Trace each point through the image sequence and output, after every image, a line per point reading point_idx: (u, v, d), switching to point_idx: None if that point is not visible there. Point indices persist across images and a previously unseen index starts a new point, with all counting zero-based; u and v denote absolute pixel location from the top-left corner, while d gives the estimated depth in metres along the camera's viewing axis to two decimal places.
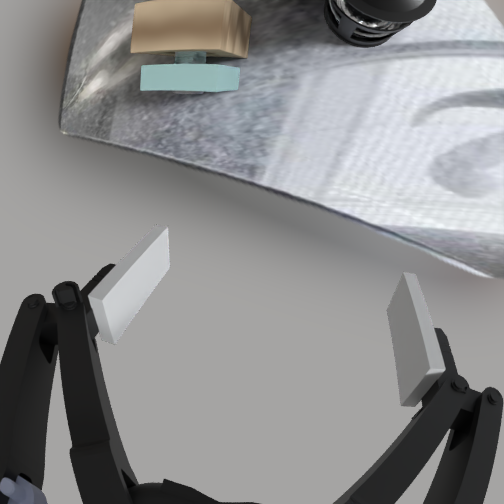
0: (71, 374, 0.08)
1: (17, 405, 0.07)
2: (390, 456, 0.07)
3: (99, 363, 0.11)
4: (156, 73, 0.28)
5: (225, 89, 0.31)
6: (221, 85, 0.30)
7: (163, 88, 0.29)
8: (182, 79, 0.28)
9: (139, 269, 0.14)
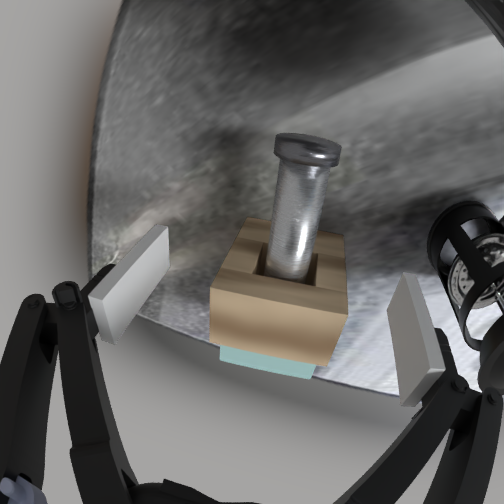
0: (71, 374, 0.08)
1: (17, 405, 0.07)
2: (390, 456, 0.07)
3: (99, 363, 0.11)
4: (241, 352, 0.28)
5: None
6: None
7: (250, 365, 0.29)
8: (273, 364, 0.28)
9: (139, 269, 0.14)
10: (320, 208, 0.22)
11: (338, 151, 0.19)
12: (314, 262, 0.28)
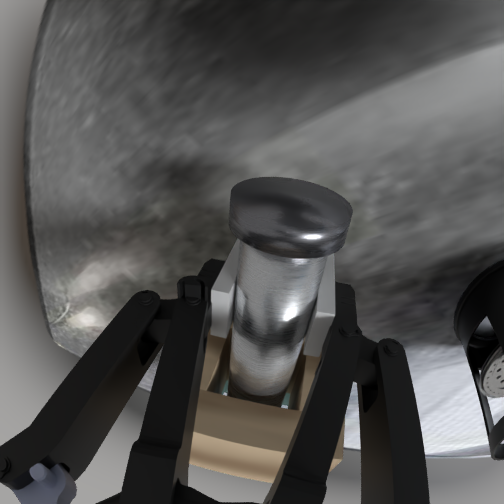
0: (168, 370, 0.09)
1: (86, 402, 0.08)
2: (304, 420, 0.08)
3: (202, 365, 0.12)
4: None
5: None
6: None
7: None
8: None
9: None
10: (310, 310, 0.13)
11: (347, 223, 0.10)
12: (302, 354, 0.19)
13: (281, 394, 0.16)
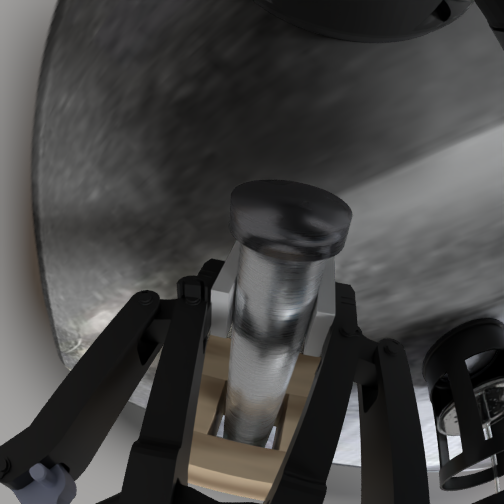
0: (168, 370, 0.09)
1: (86, 402, 0.08)
2: (305, 420, 0.08)
3: (202, 364, 0.12)
4: None
5: None
6: None
7: None
8: None
9: None
10: (309, 312, 0.13)
11: (346, 226, 0.11)
12: (285, 400, 0.23)
13: (280, 395, 0.16)
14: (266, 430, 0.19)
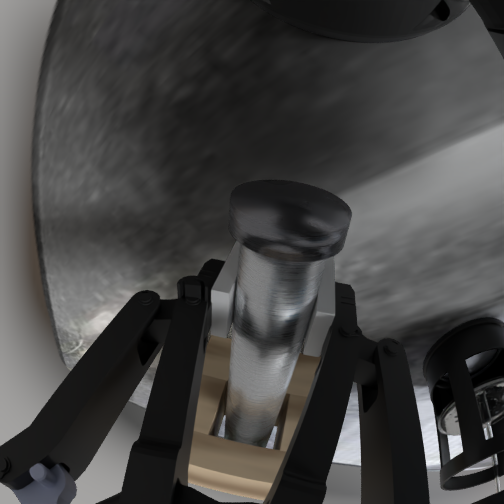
0: (168, 370, 0.09)
1: (86, 402, 0.08)
2: (304, 420, 0.08)
3: (202, 364, 0.12)
4: None
5: None
6: None
7: None
8: None
9: None
10: (309, 312, 0.13)
11: (346, 226, 0.11)
12: (286, 400, 0.23)
13: (281, 395, 0.16)
14: (267, 430, 0.19)
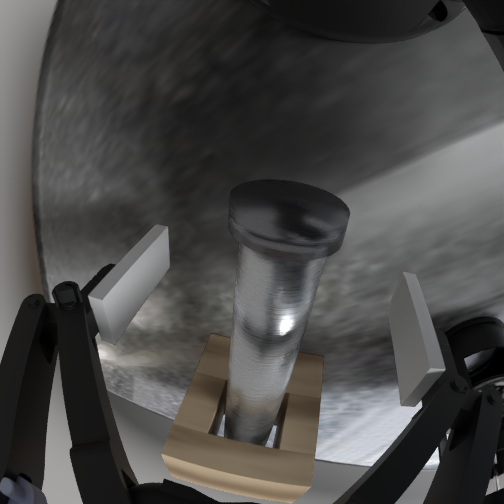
0: (71, 374, 0.08)
1: (17, 405, 0.07)
2: (390, 456, 0.07)
3: (99, 363, 0.11)
4: None
5: None
6: None
7: None
8: None
9: (139, 269, 0.14)
10: (308, 311, 0.13)
11: (344, 225, 0.11)
12: (285, 399, 0.23)
13: (280, 394, 0.16)
14: (266, 429, 0.19)
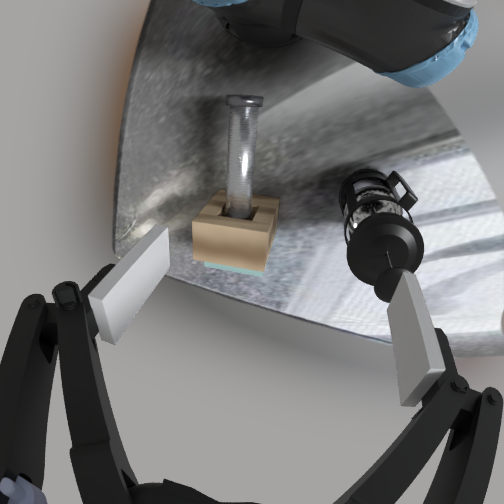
0: (71, 374, 0.08)
1: (17, 405, 0.07)
2: (390, 456, 0.07)
3: (99, 363, 0.11)
4: None
5: None
6: None
7: (223, 268, 0.47)
8: None
9: (139, 269, 0.14)
10: (254, 132, 0.37)
11: (259, 98, 0.34)
12: None
13: (249, 180, 0.40)
14: (245, 212, 0.42)
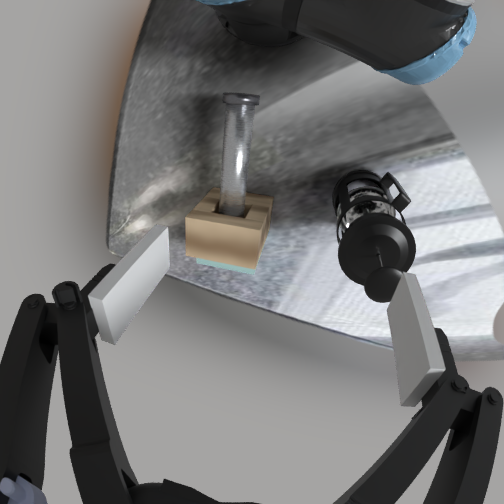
0: (71, 374, 0.08)
1: (17, 405, 0.07)
2: (390, 456, 0.07)
3: (99, 363, 0.11)
4: None
5: None
6: None
7: (215, 265, 0.47)
8: None
9: (139, 269, 0.14)
10: (249, 130, 0.37)
11: (256, 97, 0.35)
12: None
13: (243, 178, 0.40)
14: (239, 210, 0.43)
